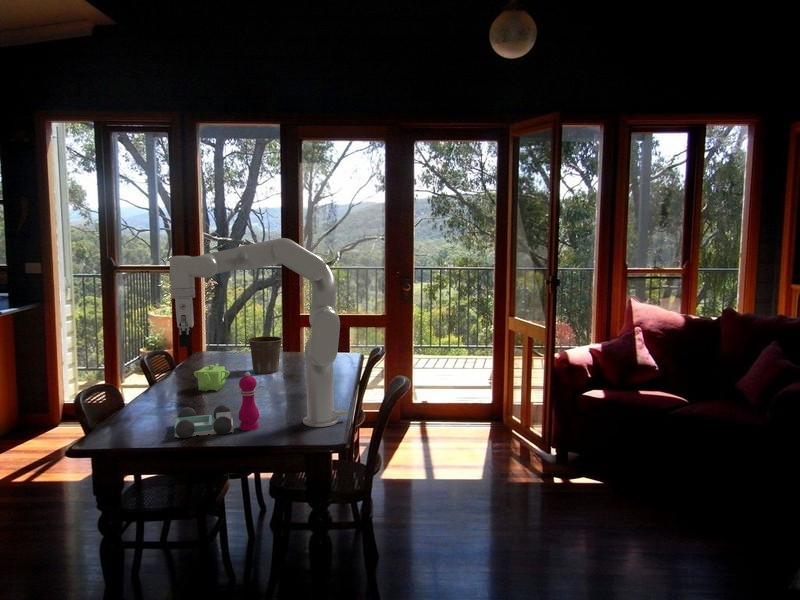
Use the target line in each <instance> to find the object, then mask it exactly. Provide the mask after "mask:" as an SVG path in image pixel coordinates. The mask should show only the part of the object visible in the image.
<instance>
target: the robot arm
mask: <svg viewBox="0 0 800 600" xmlns="http://www.w3.org/2000/svg"><path fill="white" fill-rule="evenodd" d="M280 264H282V265H283V266H285V267H286V268H288V269H289V270H292V271H293V272H295V273H296V274H298V275H300V276H301V277H303V278H305V279H307V280H308V281H309V283H310V284H311V302H310V311H309V316H308V319H309V320H308V321H309V324H310V325H309V326H310V327H311V336H310V337H309V338H308V340H307V341H306V343H305V346H304V359H305V369H306V371H305V373H306V408H307V410H306V411H307V413H306V414H307V416H305V417H303V419H302V423H303V424H304V425H305V426H308V427H312V428H313V427H314V428H323V427H330V426H334V425H336V424H337V423H338V422H339V417H346V416H348V411H347V409H346V410H342V409H336V408H335V405H334V404H335V403H334V401H335V400H334V397H335V396H334V362H335V361H336V359H337V357H338V351H339V350H338V349H339V340H340V331H341V321H340V316H339V314H338V313H337V311H336V300H337V283H336V278H335V276H334V273H333V271H332V269H331V268H330V266H329V265H328V264H327V263H326V262H325V260H324V259H323V258H322V257H320V256H319V255H317V254H315V253H313V252H311V251H309V250H308V249H307V248H304V247H303V246H301V245H300V244H298V243H297V242H295V241H294V240H292V239H290V238H285V237H280V238H279V237H278V238H275V239H269V240H263V241H260V242H255V243H250V244H245V245H240V246H237V247H233V248H230V249H229V248H228V249H225V250H220V251H213V252H210V253H209V252H208V253H204V254H201V255H198V256H191V255H174V256H171V257H170V258H169V275H170V276H169V277H170V296H171V297H170V298H171V299H175V315H176V316H175V317H176V318H175V319H176V324H177V325H176V326H177V328H178V329H179V334H178V338H179V339H178V341H179V343H178V344H179V347H180V348H186V347H187V348H188V347H190V346H191V341H192V329H191V328H193V327H194V324H195V321H194V305H193V302H194V301H193V298H196V289H195V288H196V285H195V282H196V281H195V278H202V279H203V278H205V279H207V278H211V277H214V275H216V274H217V275H218V274H222V273H226V272H233V271H250V270H257V269H261V268H265V267H271V266H274V265H280Z"/></svg>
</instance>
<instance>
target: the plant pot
mask: <svg viewBox="0 0 800 600" xmlns="http://www.w3.org/2000/svg"><path fill="white" fill-rule="evenodd" d="M247 341H248V343H249V348H250V354H251V365H252V372H253V373H254V374H258V375H263V374H265V375H266V374H269V373H270V374H275V373H277V372H278V371H279V368H280V354H281V353H280V352H281V347H282V341H283V338H282V337H280V336H275V335H274V336H272V335H269V336H268V335H265V336H261V335H260V336H253V337H250V338H248V339H247ZM274 372H275V373H274Z"/></svg>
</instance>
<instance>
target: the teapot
mask: <svg viewBox="0 0 800 600" xmlns="http://www.w3.org/2000/svg"><path fill="white" fill-rule="evenodd" d="M230 373H231V372H230V371H229V370H226V367H225V365H224V366H219V363H216V364H215V365H214V364H209V365H208V366H204V367H202V368H201V369H199V370H196V371H194V372H193V375H194V377H195V378H196V379H197V383H198V384H197V385H198V391H202V392H203V391H206V390H207V391H214V390H215V391H214V392H217V391H216V390H219V391H220V390H221V389H223V387H224V386H225V385H226V379H228V377H229V375H230ZM207 391H206V392H207Z"/></svg>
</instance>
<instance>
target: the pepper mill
mask: <svg viewBox="0 0 800 600" xmlns="http://www.w3.org/2000/svg"><path fill="white" fill-rule="evenodd" d="M257 384H258V382H257V379H256V378H255V377H254V376H251V373H250V372H249V371H246V372H245V373H244V376H243V377H241V378H240V379H239V382H238V385H239V386H238V387H239V388H240V395H241V397H242V403H241V406H240V408H239V410H238V411H239V412H238V416H237V417H238V420H239V421H240V423H239V428H240V430H241V431H254V430H257V429H259V421H258V420H259V418H260V416H261V415H260V410H259V409H258V407H257V405H256V402H255V395H256V389H255V388H257Z"/></svg>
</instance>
